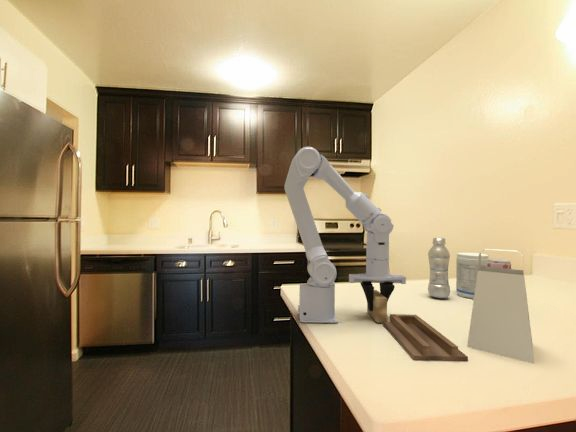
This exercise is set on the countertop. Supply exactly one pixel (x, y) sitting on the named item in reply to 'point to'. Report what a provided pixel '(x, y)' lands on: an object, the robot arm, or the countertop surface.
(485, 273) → the grater
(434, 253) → the plastic bottle
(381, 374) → the countertop surface
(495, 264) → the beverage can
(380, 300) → the brown wooden block
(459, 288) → the supplement tub
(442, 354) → the track
